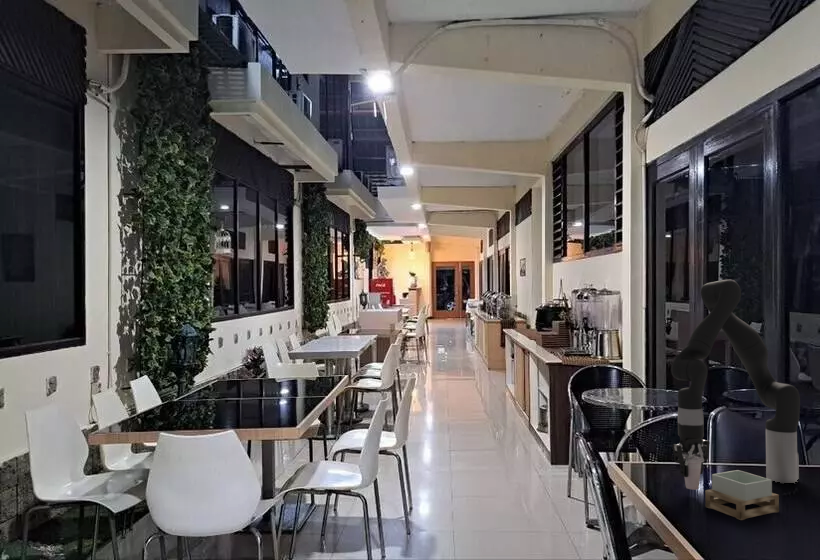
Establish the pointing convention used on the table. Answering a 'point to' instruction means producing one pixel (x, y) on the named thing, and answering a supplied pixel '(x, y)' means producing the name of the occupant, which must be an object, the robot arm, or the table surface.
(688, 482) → the smoothie
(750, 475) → the grey crate
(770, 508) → the wooden pallet
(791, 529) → the table surface
